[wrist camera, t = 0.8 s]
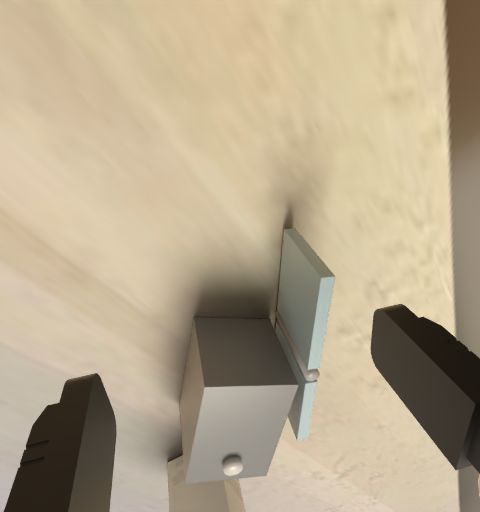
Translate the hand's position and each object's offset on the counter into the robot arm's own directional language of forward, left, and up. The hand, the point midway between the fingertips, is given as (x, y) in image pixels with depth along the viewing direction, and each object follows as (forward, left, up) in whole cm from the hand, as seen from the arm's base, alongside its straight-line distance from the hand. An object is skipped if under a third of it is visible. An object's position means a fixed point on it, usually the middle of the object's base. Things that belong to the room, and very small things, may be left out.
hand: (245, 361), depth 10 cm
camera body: (+13, +24, -25) cm, 37 cm away
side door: (+2, +21, -25) cm, 33 cm away
